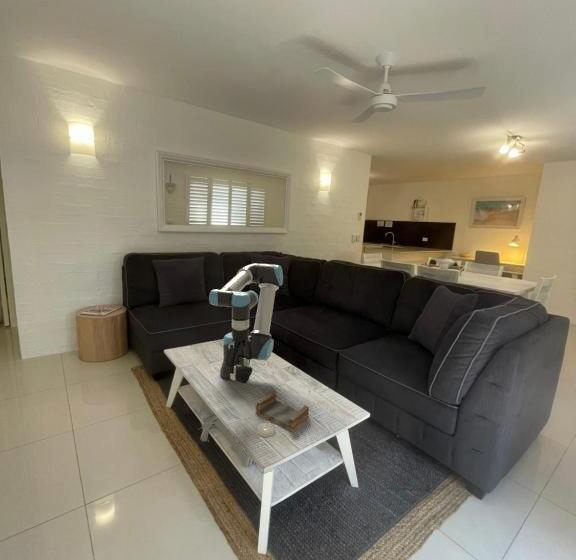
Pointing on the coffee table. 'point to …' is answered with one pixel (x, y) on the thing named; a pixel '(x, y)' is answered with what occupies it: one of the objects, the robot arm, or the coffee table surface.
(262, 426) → the cream glossy rounded part
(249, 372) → the mineral
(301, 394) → the coffee table surface
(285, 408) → the rest
